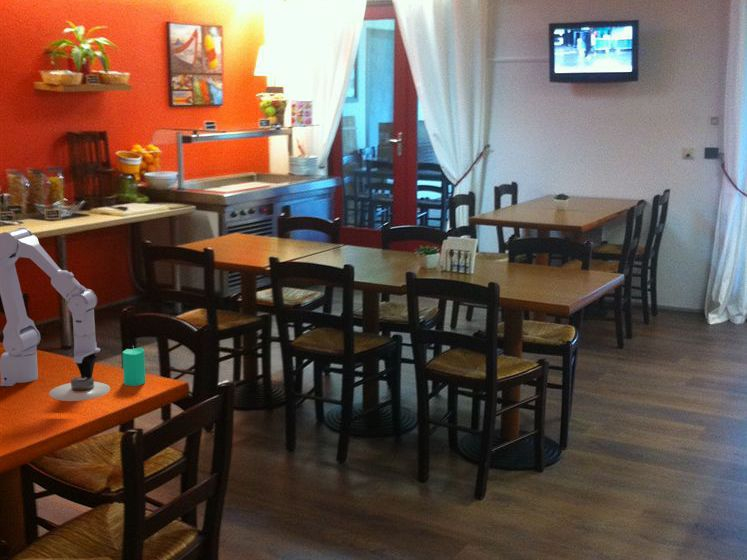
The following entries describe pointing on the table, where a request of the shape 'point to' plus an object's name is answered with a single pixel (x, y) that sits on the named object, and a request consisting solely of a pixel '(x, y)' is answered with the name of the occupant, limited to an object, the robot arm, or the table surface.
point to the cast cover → (82, 383)
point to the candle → (134, 366)
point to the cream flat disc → (68, 394)
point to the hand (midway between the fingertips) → (87, 380)
